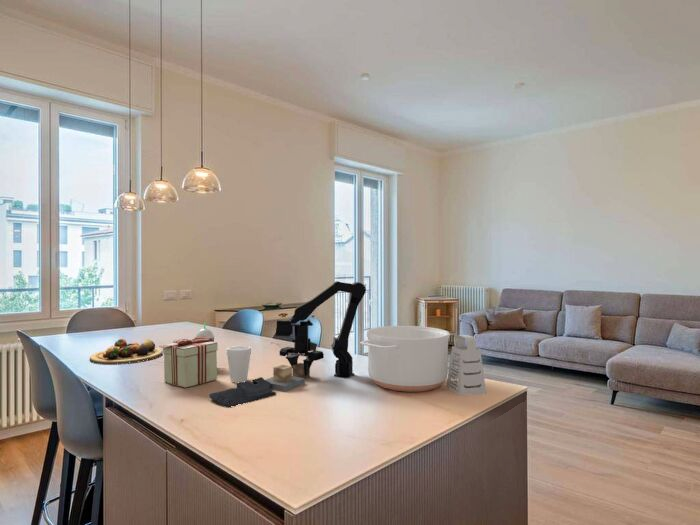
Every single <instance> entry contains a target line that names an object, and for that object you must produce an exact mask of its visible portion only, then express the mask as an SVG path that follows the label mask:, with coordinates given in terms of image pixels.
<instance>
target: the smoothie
mask: <svg viewBox="0 0 700 525" xmlns="http://www.w3.org/2000/svg"><path fill="white" fill-rule="evenodd" d="M198 336H206V337H207V338H208V339H210V340H211V341H210V342H215V335H214V333H213V332H212V330H211V329H209V328H206V322H203V328H201V329H199V330H198V331H197V332H196V334H195V336H194V338H196V337H198Z"/></svg>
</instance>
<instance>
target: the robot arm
mask: <svg viewBox="0 0 700 525" xmlns="http://www.w3.org/2000/svg"><path fill="white" fill-rule="evenodd" d="M366 291H367V289H366V286H365V285H364V284H363V283H361V282H358V281H356V282H353V283H349V282H341V281H338V280H336V281H334V282H333V283H332V284H331V285H330V286H328V287H327V288H326V289H324V290H322V292H320V293H318V294H317V295H316V296H314V297H313V298H312V299H310V300H308V301H306V302H304V303H301V304H299V305H298V306H296V307H295V308H294V312H293V315H292V316H291V317H290V319H289V320H286V319H284V320H281V319H276V327H275V337H276V338H284V337H285V338H288V337H289V338H290V336H291V335H294V338H292V343H294V344H293V347H291V346H286V347H282V348H280V350H279V356H281V357H285V359H286V360H287V361H288V362H289V366H292V370H293V365H295V364H298V363H299V362H298V359H299V357H300V356H301V357H306V358H305V359H303V360H302V361H303V362H302V363H304V371H305V375H306V376H307V375H308V372H309V370H310V371H311V366H312V364H313V363H314V361H319V360H322V359H324V352H323V351H322V350H317V346H318V344H317V343H315V342H312V341H311V338H309V326H314V324H313V322H311V320H310V319H309V317H310V316H311V315H312V314H313V312H314V311H315V310H316V309H317V308H318V307H319V306H321V305H322V304H324V303H325V302H327V300H329V299H331V297H333V296H335V295H336V294H337V293H339V292H343V293H348V304H347V308H346V310H345V314H344V317H343V321H342V324H341V327H340V329H339V330H340V332H339V334H338V336H337V337H335V336H334V337H333V339H332V340H333V341H332V344H331V345H330V346H331V351H332V353H333V356H334V357H335V358H336V359H337V360H335V365H334V368H335V369H334V374H333V376H334V377H338V378H345V379H347V378H350V377H352V376H354V375H355V373H354V372H353V371H354V370H353V363H354V362H353V358H354V357H353V356H352V354H351V353H350V352H349V351H348V350H349V338H350V333H351V330H352V326H353V323H354V320H355V316H356V313H357V310H358V307H359V304H360V303H361V301H362V300H363V298H364V296H365V293H366ZM293 327H294V328H293ZM293 330H294V331H293ZM293 332H294V334H293Z"/></svg>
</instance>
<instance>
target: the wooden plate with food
mask: <svg viewBox="0 0 700 525" xmlns="http://www.w3.org/2000/svg"><path fill="white" fill-rule="evenodd" d="M162 354H163V349H162V348H160V347H156V344H155V343H154V341H153V340H151V339H147V338H146V340H145V341H144V342H143V343H140V344H139V343H138V342H131V343H127V341H126V339H124V338H119V339H118V340H117V341H115V343H114V345H110V346H108V347H107V348H106V349H105V350H100V351H98V352H95V353H93V354H92V355H90V357H89V361H90V362H91V363H92V362H94V363H93V364H97V363H102V364H101V365H118V364H117V363H128V364H130V363H129V362H136V363H138V362H137V361H143V360H147V359H152V358H155V357H158V356H160V355H161V356H162ZM161 356H160V357H161ZM158 358H159V357H158ZM155 359H156V358H155ZM152 360H153V359H152ZM143 362H144V361H143Z"/></svg>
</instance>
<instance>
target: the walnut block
mask: <svg viewBox="0 0 700 525" xmlns="http://www.w3.org/2000/svg"><path fill="white" fill-rule="evenodd" d="M310 375H311V369H310V370H309V372H308V375H307V376H306V375H305V371H304V363H303V362H298V364H295V365H293V369H292V376H293V377H299V378H305V379H306V378H307V379H308V378H309V377H311V376H310Z"/></svg>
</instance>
